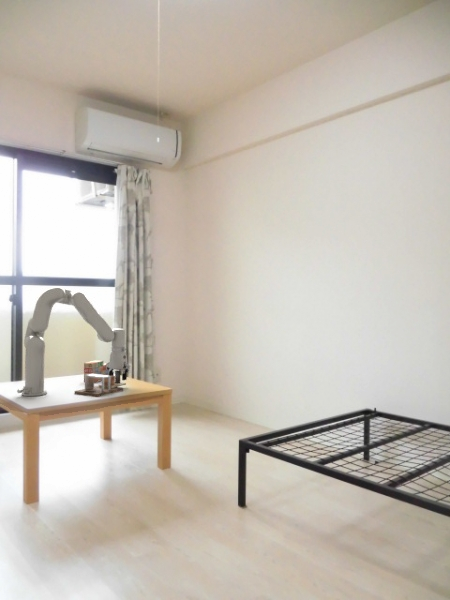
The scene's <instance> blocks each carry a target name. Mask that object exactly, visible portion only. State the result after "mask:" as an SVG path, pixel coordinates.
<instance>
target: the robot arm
mask: <svg viewBox="0 0 450 600" xmlns="http://www.w3.org/2000/svg"><path fill="white" fill-rule="evenodd" d="M56 303H57V304H61V305H62V304H63V305H68V306H73V307H74V308H75V309H76V311H77V312H78V313H79V315H80V316H81V317H82V319H83V320H84V321H85V322H86V323H87V324H88V325H90V326H91V327H92V328H93V330H95V332H96V333H97V335H96V336H97V339H98V340H99V341H101V342H104V343H111V351H110V353H109V361H108V362H107V364H106V367H107V369H108V372H109V376H115V371H121V372H122V373H121V374H122V375H121V376H122V377H121V378H122V379H121V380H122V381H127V377H128V376H127V374H128V372H129V371H130V369H131V365H130V364H128V356H127V352H126V350H127V349H126V343H125V342H126V331H125V329H124V328H111V327H110V325H109V324H108V323H107V321H106V320H105V319H104V318H103V316H102V315H101V314H100V312H99V311H98V310H97V309H96V308H95V307H94V305H93V303H91V301H90V300H89V299H88V297H87V296H86V294H85V293H84V292H82V291H79V290H72V289H71V290H70V289H65V288H62V287H60V286H53V287H51V288H48V289H46V290H44V291H43V292H42V293H41V294H40V295H39V296H38V297H37V300H36V302H35V306H34V310H33V313H32V316H31V317H30V319H29V320H28V322H27V326H26V330H25V334H24V335H25V336H24V340H23V345H24V349H25V356H24V386H23V388H20V389H19V388H18V389H17V390H16V392H17V394H21V395H22V396H25V397H37V396H43V395H47V393H48V391H47V390H45V351H46V343H45V340H44V336H45V332H46V331H47V330H48V327H49V324H50V318H51V317H50V316H51V313H52V310H53V307H54V305H56ZM114 370H115V371H114Z"/></svg>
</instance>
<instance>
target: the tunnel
mask: <svg viewBox="0 0 450 600" xmlns="http://www.w3.org/2000/svg"><path fill="white" fill-rule="evenodd" d="M94 378H101V379H102V380H101V385H102V390H101V392H104V378H108V390H110V379H111V376H109V375H99V374H89V375H85V382H84V389H85V390H87V389H91V388H94V387H95V386H94V385H95V382H94Z"/></svg>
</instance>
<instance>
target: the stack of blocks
mask: <svg viewBox="0 0 450 600" xmlns="http://www.w3.org/2000/svg"><path fill="white" fill-rule="evenodd" d="M107 363H108V362H107ZM107 363H106V362H104V360H99V359H98V360H95V359H94V360H91V361H87V362H84V363H83V382H84V383H85V375H89V374H99V375H109V372H108V369H107V367H106V364H107ZM97 381H98V382H100V381H101V382H102V379H101V378H94V383H96V382H97Z"/></svg>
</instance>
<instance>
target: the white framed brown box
mask: <svg viewBox="0 0 450 600" xmlns="http://www.w3.org/2000/svg"><path fill="white" fill-rule="evenodd" d="M121 372H122V370H115V371H114V376H111V379H110V388H114V387H122V386H125V385H127V383H126V382H121ZM98 386H99V387H102V384H99V385H98ZM104 387H105V388H108V378H104Z"/></svg>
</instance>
